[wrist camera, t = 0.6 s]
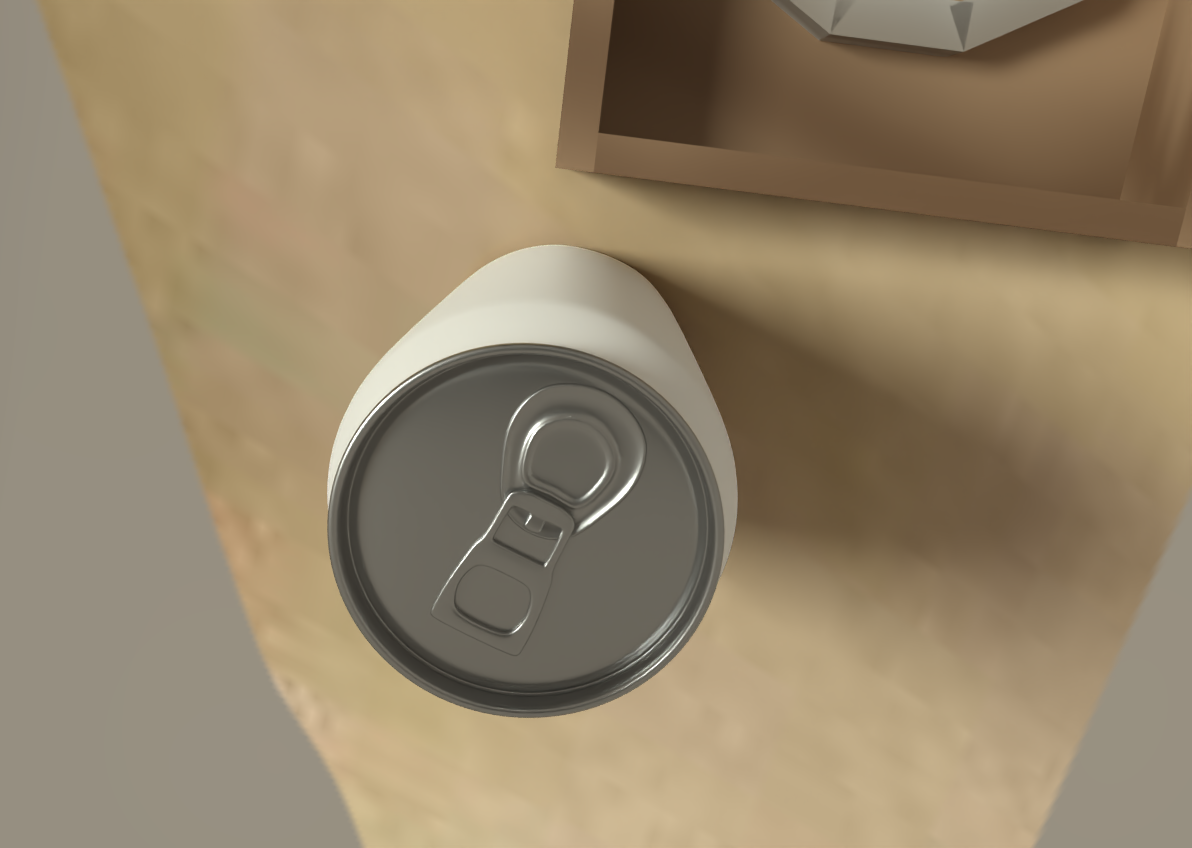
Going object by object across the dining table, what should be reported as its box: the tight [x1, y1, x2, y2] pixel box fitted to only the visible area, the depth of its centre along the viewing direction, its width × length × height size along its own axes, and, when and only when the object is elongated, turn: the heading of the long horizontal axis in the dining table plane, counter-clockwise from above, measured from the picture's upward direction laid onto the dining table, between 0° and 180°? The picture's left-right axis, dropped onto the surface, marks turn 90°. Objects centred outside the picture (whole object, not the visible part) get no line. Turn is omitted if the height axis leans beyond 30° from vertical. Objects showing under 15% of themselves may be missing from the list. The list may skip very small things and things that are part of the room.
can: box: [327, 245, 738, 718], centre depth 20 cm, size 6×6×12 cm
